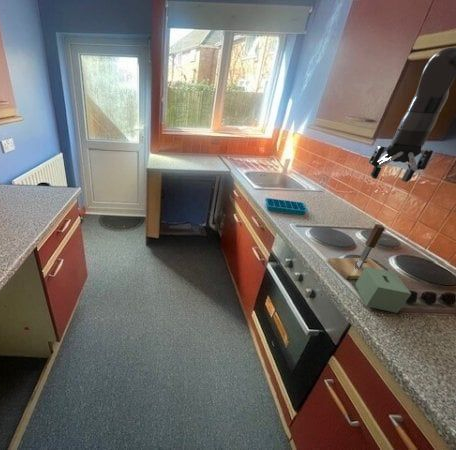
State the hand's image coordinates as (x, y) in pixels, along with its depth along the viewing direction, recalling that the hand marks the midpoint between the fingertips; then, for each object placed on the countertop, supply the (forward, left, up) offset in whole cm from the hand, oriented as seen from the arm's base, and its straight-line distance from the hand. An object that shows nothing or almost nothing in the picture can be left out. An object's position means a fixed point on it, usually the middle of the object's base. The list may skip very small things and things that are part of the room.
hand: (388, 179), depth 83 cm
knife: (+3, +8, -31) cm, 32 cm away
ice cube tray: (+6, -43, -32) cm, 54 cm away
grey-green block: (+8, +22, -32) cm, 40 cm away
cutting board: (+3, +8, -32) cm, 33 cm away
